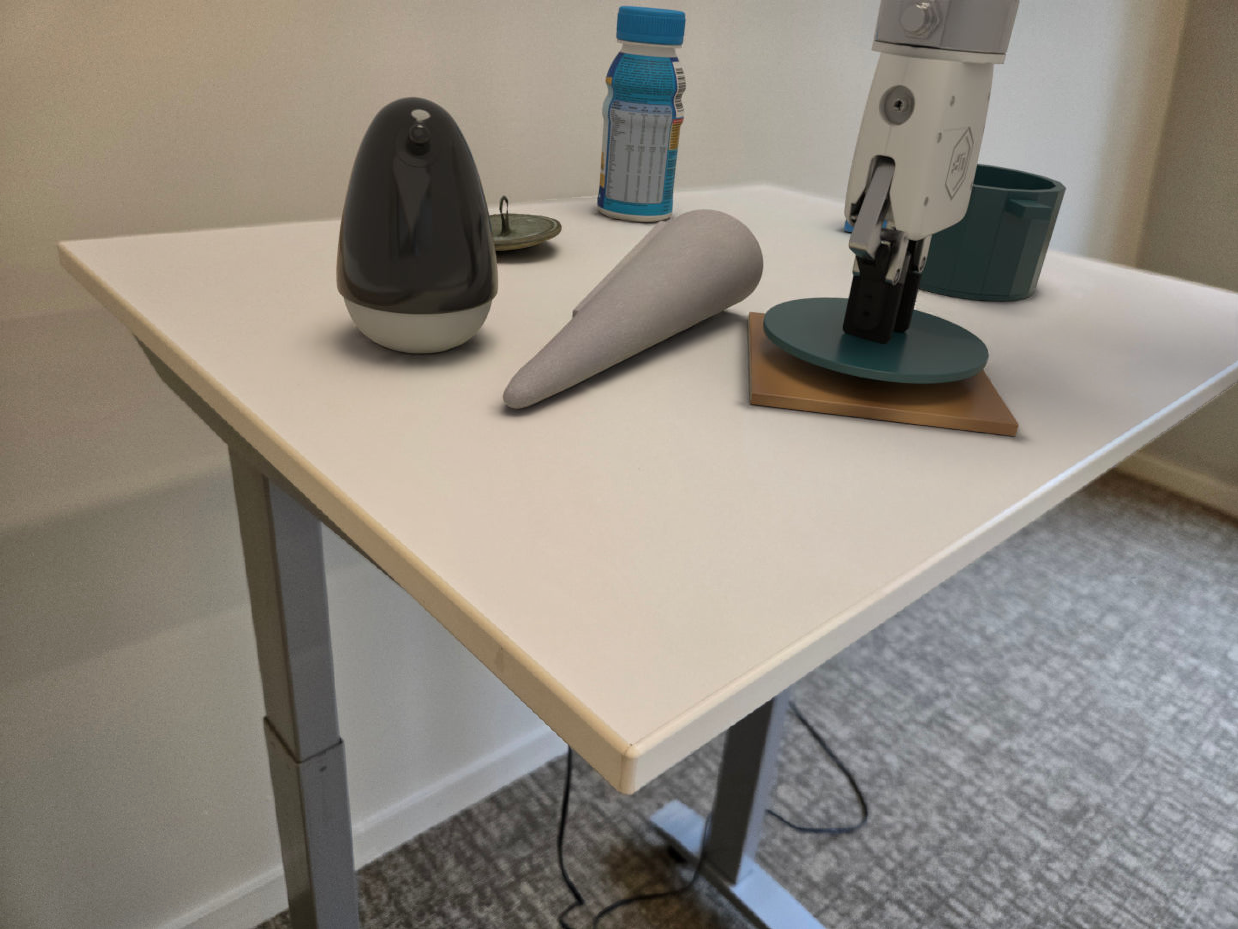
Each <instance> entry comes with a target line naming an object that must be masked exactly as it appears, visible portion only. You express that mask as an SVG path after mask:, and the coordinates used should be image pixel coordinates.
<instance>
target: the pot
mask: <svg viewBox="0 0 1238 929" xmlns="http://www.w3.org/2000/svg"><path fill="white" fill-rule="evenodd" d="M1066 190H1067V187H1066V186H1065V185H1064V184H1063V183H1062V182H1060V181H1059V180H1055V179H1053V178H1050V177H1048V176H1045V175H1041V174H1036V173H1032V172H1028V171H1025V170H1019V169H1014V168H1008V167H1002V166H999V165H991V164H984V163H977V167H976V172H975V177H974V181H973V186H972V191H971V195H970V200H969V204H968V208H967V212H966V214H965V216H964V217H963V218H962V220H960V221H959V222H958V223H956V224H954V225H952V226H950V227H948V228H946V229H944V230H942V231H939V232H937V233H935V234H933V236H932V239H931V241H930V246H929V250H928V255H927V259H926V263H925V266H924V269H923V270H922V272H920V273H919V272H915V271H914V273H918V274H922V277H921V281H920V285H919V289H920V290H924V291H926V292H931V293H935V294H939V295H941V296H942V295H943V296H948V297H954V298H958V299H959V298H960V299H966V300H973V301H983V302H984V301H985V302H986V301H987V302H1013V301H1020V300H1024V299H1027V298H1029V297H1031V296H1032V295H1033V294H1034V291H1035V290H1036V289H1037V286H1038V283H1039V281H1040V280H1039V279H1040V276H1041V273H1042V270H1043V267H1044V263H1045V259H1046V256H1047V254H1048V250H1049V246H1050V243H1051V239H1052V236H1053V234H1054V230H1055V227H1056V224H1057V220H1058V216H1059V213H1060V210H1061V206H1062V204H1063V200H1064V197H1065V194H1066Z"/></svg>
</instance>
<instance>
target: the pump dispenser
mask: <svg viewBox="0 0 1238 929" xmlns="http://www.w3.org/2000/svg"><path fill="white" fill-rule="evenodd" d="M360 141H361V142H360V143H359V146H358V149H357V152H356V155H355V158H354V161H353V164H352V168H351V171H350V176H349V180H348V184H347V188H346V193H345V198H344V203H343V208H342V212H341V220H340V226H339V232H338V233H339V234H338V241H337V242H338V244H337V250H336V251H337V252H336V253H337V254H336V263H335V264H336V266H335V275H336V276H335V278H336V280H335V281H336V289H337V291H338V293H339V295H341V297H342V298H343V301H344V305H345V307H346V310H347V312H348V314H349V317H350V319H351V320H352V321H353V323H354V324H355V326H356V328H358V330H359V331H360V332H361V333H362V334H363V335H365V337H367V338H368V339H370V340H371V341H372V342H374V343H376V344H377V345H380V346H382V347H384V348H387V349H390V350H393V351H396V352H400V353H406V354H419V355H421V354H435V353H440V352H441V353H442V352H446V351H448V350H451V349H454V348H457V347H459V346H461V345H463V344H465V343H466V342H468V341H469V340H470V339H472V338H473V337H474V336H475V335H476V334H477V333H478V332H479V330H480V329H482V327H483V325H484V323H485V322H486V320H487V318H488V316H489V313H490V311H491V308H492V303H493V300H494V299H495V298H496V296H497V295H498V291H499V268H498V259H497V258H498V257H497V250H496V251H495V243H494V237H493V231H492V225H491V220H490V216H489V215H490V211H489V207H488V203H487V199H486V194H485V191H484V187H483V184H482V180H481V176H480V172H479V169H478V167H477V163H476V161H475V158H474V155H473V152H472V149H471V147H470V145H469V143H468V141H467V139H466V136H465V135H464V133H463V131H462V130H461V128H460V126H459V124H458V123H457V121H456V120H455V118H454V117H453V116H452V115H451V113H450V112H448V111H447V110H446V109H445V108H444V107H443V106H441V105H440V104H438V103H436V102H434V101H432V100H430V99H427V98H425V97H418V96H406V97H402V98H401V97H400V98H397V99H395V100H393V101H391V102H389V103H387V104H385V105H384V106H383V107H381V108H380V109H379V111H378V112H376V114H375V115H374V117H373V118H372V120H371V122H370V123H369V125H368V127H367V129H366V130H365V132H364V135H363V137H362V139H361V140H360Z"/></svg>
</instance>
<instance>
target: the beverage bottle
mask: <svg viewBox="0 0 1238 929" xmlns="http://www.w3.org/2000/svg"><path fill="white" fill-rule="evenodd" d="M616 17H617V18H616V33H615V38H616V43H619V44H622V46H621V48H620V50H619V51H618V52H617V54H616V55H615V57H614V58H613V60H612V62H611V63H610V66H609V67H608V70H607V73H606V76H605V85H606V88H607V95H606V96H605V98H604V100H603V102H602V106H601V107H602V108H601V114H602V119H603V125H602V138H601V139H602V140H601V141H602V142H601V155H600V171H599V172H600V173H599V185H598V193H597V200H596V202H597V203H596V208H597V210H598V211H599V212H600V213H601V214H602V215H604V216H607V217H609V218H613V219H615V220H616V219H617V220H622V221H627V222H638V223H639V222H640V223H653V222H659V221H664V220H667V219H669V218H670V217H671V216H672V214H673V209H674V208H673V207H674V188H675V179H676V170H677V160H678V154H679V142H680V134H681V127H682V125H683V123H684V119H685V107H684V104H683V101H682V99H683V98H682V97H683V94H684V93H685V92H686V89H687V82H686V76H685V72H684V69H683V66H682V64H681V62H680V60H679V58H678V56H677V53H676V49H681V48H682V47H683V44H684V38H685V31H686V21H687V19H686V13H685V11H682V10H676V9H667V8H660V7H659V8H658V7H647V6H636V5H620V6H619V7H618V12H617V15H616Z"/></svg>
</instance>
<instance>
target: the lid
mask: <svg viewBox="0 0 1238 929" xmlns="http://www.w3.org/2000/svg"><path fill="white" fill-rule="evenodd" d="M504 202H505V204H506V212H503V208H504ZM498 209H499V210H498V211H499V213H497V214H496V213H494V214H489V216H490V220H491V225H492V231H493V237H494V243H495V251H496V252H498V251H502V252H503V251H513V250H520V249H524V248H531V247H534V246H538V245H540V244H542V243H544V242H546V241H547V242H548V241H550V240H552V239H554V238H557V236H558V235H560V233H561V232H562V230H563V228H562V227H563V225H562V223H561V222H560V220H558V219H556V218H552V217H549V216H544V215H539V214H528V213H527V214H524V213H511V212H509V199H508V197H507V196H506V195H502V196H501V198H499V207H498Z"/></svg>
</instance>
